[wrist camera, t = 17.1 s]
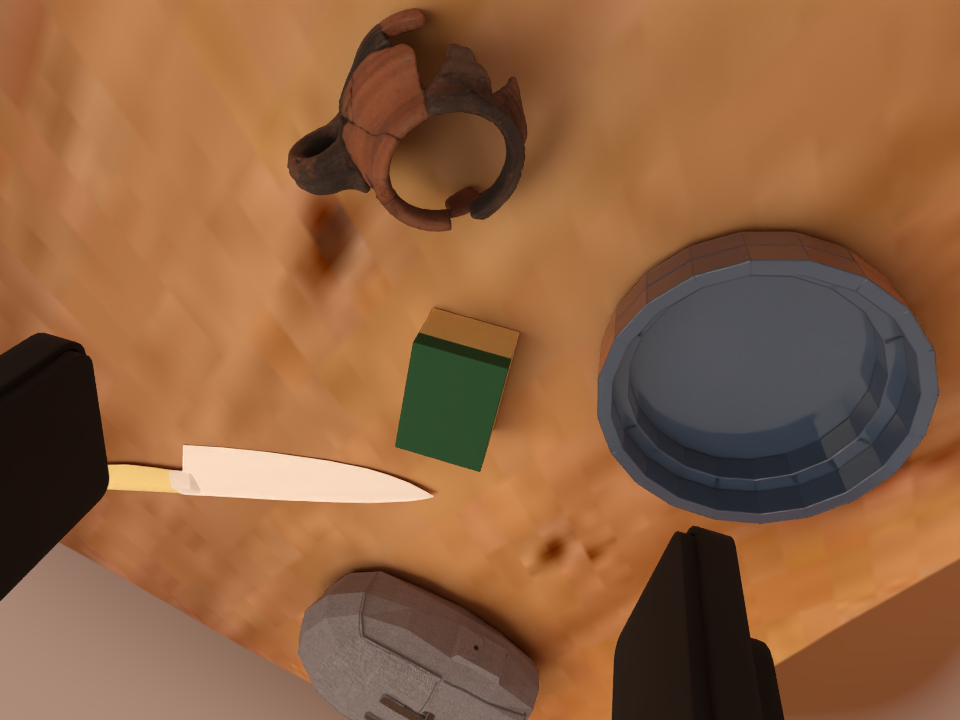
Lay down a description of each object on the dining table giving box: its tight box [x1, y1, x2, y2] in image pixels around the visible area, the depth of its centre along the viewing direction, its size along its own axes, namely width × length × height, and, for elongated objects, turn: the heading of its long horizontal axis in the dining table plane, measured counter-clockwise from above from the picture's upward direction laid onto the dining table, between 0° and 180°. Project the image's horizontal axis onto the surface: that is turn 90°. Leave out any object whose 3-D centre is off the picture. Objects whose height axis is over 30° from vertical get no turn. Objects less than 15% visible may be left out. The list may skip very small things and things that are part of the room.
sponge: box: [395, 308, 520, 472], centre depth 41 cm, size 8×6×4 cm
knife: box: [107, 445, 434, 503], centre depth 52 cm, size 1×33×5 cm
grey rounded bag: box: [298, 571, 539, 720], centre depth 55 cm, size 15×8×20 cm
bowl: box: [597, 232, 939, 524], centre depth 37 cm, size 17×17×4 cm
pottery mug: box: [287, 9, 527, 232], centre depth 34 cm, size 12×10×8 cm
